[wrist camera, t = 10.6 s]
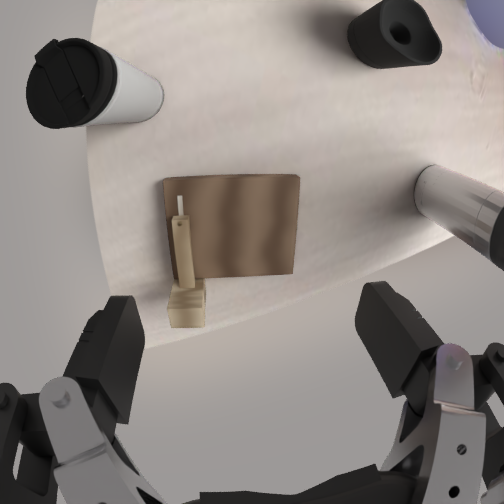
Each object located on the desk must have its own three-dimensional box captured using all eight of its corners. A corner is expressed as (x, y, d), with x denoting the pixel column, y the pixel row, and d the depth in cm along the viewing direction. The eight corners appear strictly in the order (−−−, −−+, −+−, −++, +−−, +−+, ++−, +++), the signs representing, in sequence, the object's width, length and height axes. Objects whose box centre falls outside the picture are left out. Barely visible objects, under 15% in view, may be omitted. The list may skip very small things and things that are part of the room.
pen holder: (338, 56, 28) (376, 41, 19) (347, 6, 24) (383, -18, 15) (394, 81, 30) (439, 78, 21) (401, 32, 26) (443, 20, 17)
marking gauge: (199, 209, 36) (194, 233, 28) (205, 292, 41) (204, 327, 34) (166, 211, 35) (154, 235, 28) (177, 293, 41) (171, 328, 34)
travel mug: (151, 65, 26) (80, 14, 9) (172, 106, 29) (114, 90, 12) (110, 90, 27) (11, 76, 9) (130, 131, 30) (39, 150, 12)
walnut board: (296, 174, 35) (300, 177, 33) (289, 267, 42) (292, 274, 40) (165, 177, 33) (162, 181, 32) (175, 272, 40) (174, 279, 38)
